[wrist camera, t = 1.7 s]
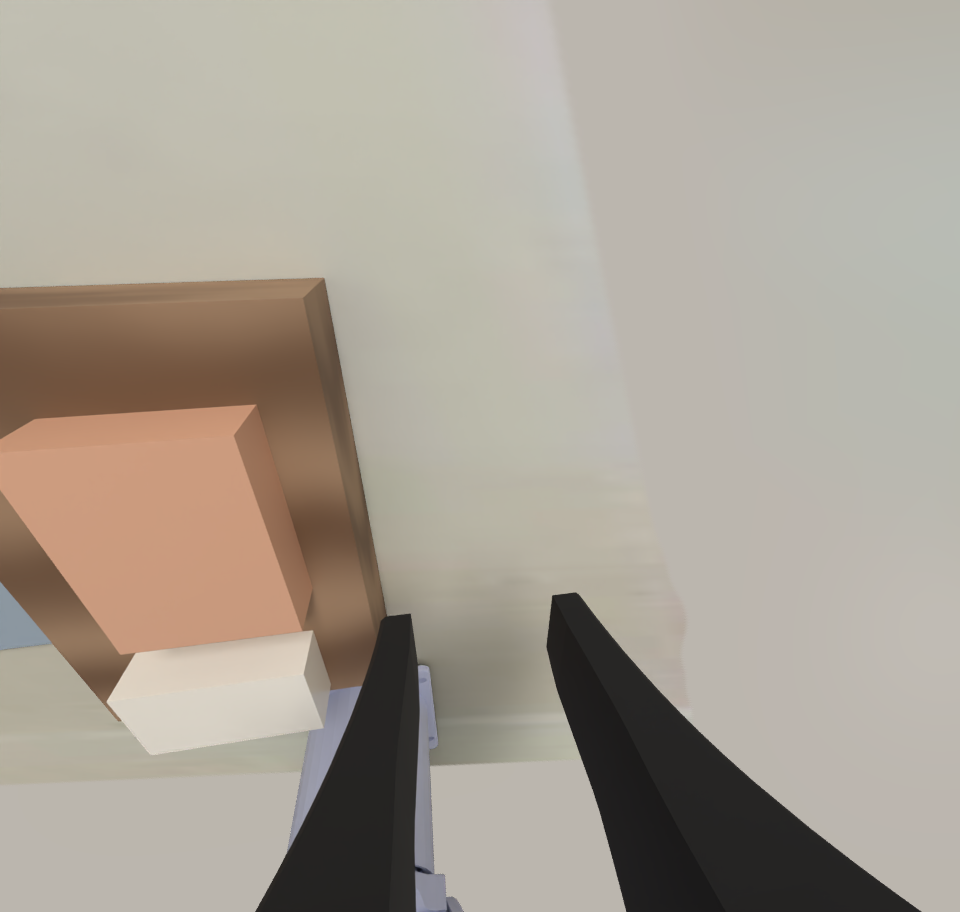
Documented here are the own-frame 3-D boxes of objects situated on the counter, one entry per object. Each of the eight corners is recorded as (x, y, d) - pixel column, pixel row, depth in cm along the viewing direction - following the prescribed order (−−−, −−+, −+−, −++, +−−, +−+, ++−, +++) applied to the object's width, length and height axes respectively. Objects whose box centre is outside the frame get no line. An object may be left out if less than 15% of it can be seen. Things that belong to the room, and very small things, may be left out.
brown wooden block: (388, 622, 24) (385, 682, 21) (156, 652, 22) (118, 721, 19) (324, 277, 14) (302, 298, 12) (-81, 290, 13) (-224, 317, 10)
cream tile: (330, 684, 20) (324, 727, 19) (173, 707, 19) (150, 755, 18) (313, 630, 18) (303, 674, 16) (135, 653, 17) (106, 702, 16)
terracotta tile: (312, 588, 17) (302, 631, 15) (150, 607, 16) (120, 654, 15) (256, 404, 13) (233, 435, 11) (34, 419, 12) (-26, 454, 10)
